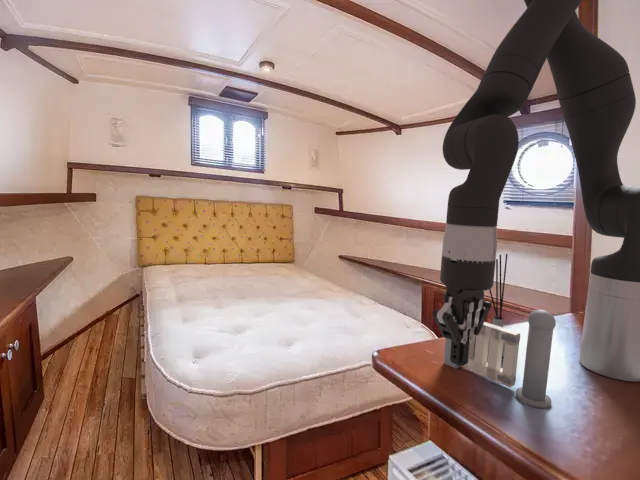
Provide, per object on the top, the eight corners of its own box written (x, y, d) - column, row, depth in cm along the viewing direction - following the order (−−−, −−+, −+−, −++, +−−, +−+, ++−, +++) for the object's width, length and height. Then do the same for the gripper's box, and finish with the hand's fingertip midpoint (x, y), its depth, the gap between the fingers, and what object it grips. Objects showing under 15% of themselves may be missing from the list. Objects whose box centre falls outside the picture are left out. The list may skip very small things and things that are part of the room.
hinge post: (523, 387, 55) (532, 303, 53) (556, 401, 51) (567, 311, 49) (509, 397, 52) (519, 308, 50) (543, 412, 48) (554, 317, 46)
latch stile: (454, 358, 64) (459, 288, 63) (482, 370, 60) (489, 295, 58) (442, 363, 62) (447, 290, 60) (471, 376, 58) (478, 298, 56)
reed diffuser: (503, 367, 61) (514, 258, 59) (464, 355, 66) (472, 253, 63) (515, 349, 69) (525, 252, 67) (479, 339, 73) (487, 248, 71)
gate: (515, 384, 54) (520, 332, 53) (509, 387, 53) (515, 335, 52) (465, 363, 61) (469, 316, 60) (459, 365, 60) (463, 318, 59)
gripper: (468, 249, 58) (460, 345, 60) (420, 253, 51) (412, 364, 53) (514, 255, 52) (503, 362, 54) (467, 262, 45) (456, 386, 47)
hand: (458, 363), depth 53 cm, fingers closed
